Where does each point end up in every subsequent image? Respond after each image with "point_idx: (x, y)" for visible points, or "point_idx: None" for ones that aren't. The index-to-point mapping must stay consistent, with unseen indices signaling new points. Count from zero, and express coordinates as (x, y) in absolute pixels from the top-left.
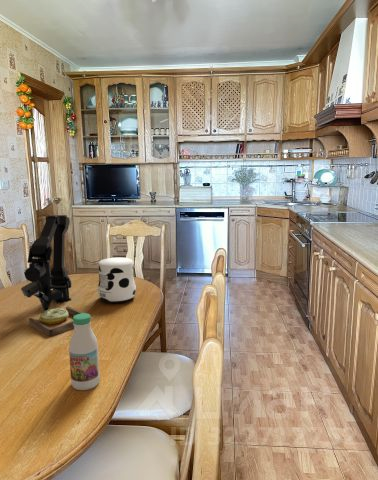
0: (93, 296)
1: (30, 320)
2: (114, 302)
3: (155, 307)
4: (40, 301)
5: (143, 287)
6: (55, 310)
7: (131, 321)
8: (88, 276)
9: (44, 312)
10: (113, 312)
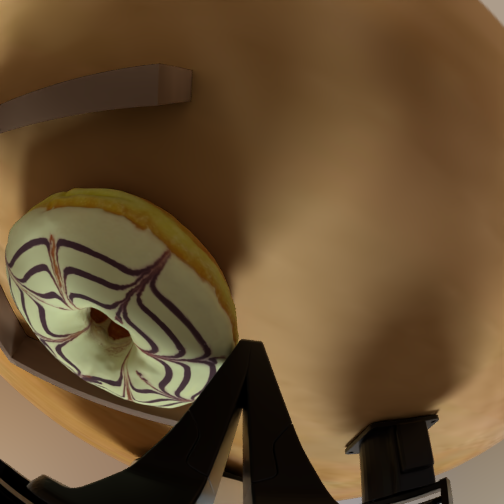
0: None
1: (111, 72)
2: None
3: (73, 434)
4: (294, 454)
5: None
6: (133, 372)
7: (6, 370)
8: None
9: (117, 299)
10: (82, 412)
